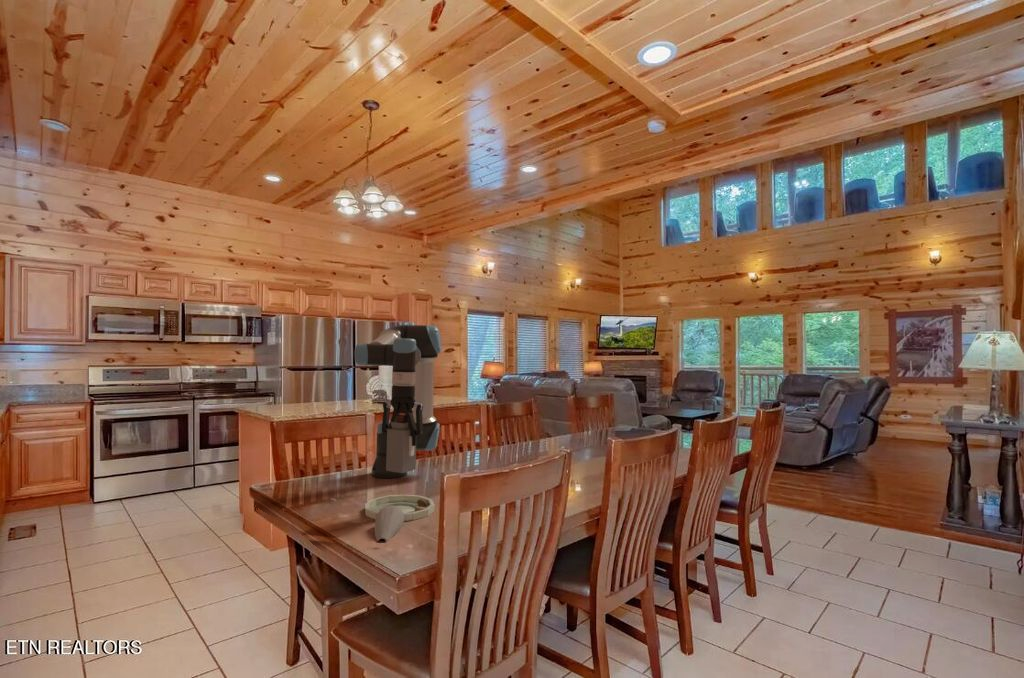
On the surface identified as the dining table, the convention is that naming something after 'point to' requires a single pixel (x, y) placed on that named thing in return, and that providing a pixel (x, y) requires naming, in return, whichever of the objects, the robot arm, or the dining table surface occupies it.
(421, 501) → the bead
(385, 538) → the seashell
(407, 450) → the perfume bottle
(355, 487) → the dining table surface
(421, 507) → the bead
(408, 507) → the tray
